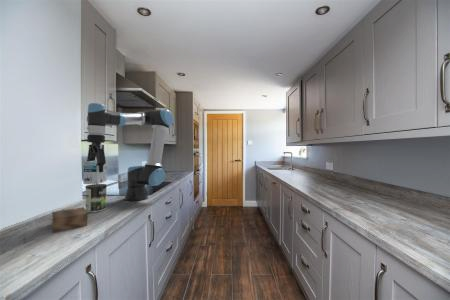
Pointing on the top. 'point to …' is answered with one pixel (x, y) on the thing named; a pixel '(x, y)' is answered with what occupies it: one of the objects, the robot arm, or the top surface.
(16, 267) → the top surface
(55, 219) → the block
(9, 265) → the top surface
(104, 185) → the coffee can
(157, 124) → the robot arm
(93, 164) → the light bulb box
